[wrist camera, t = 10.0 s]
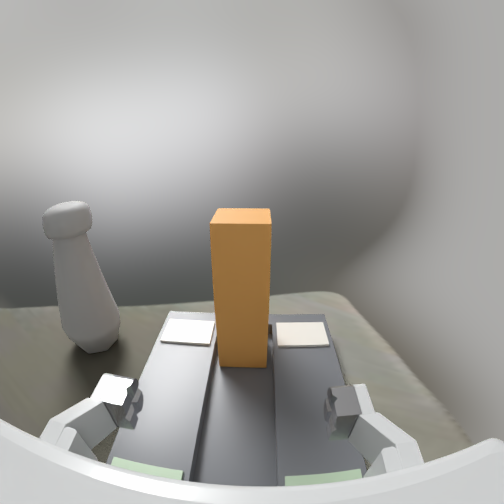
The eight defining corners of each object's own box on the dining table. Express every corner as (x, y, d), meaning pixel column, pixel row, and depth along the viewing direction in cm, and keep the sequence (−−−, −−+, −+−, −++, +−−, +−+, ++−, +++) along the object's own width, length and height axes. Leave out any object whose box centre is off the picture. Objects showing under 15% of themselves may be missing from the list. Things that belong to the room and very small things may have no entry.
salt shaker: (128, 354, 23) (95, 206, 18) (69, 364, 21) (23, 220, 16) (122, 318, 28) (99, 192, 23) (72, 327, 26) (41, 203, 21)
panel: (102, 528, 9) (85, 517, 8) (172, 328, 27) (169, 309, 26) (366, 544, 8) (381, 536, 7) (321, 331, 27) (324, 312, 26)
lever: (219, 366, 21) (209, 223, 17) (224, 337, 24) (217, 208, 20) (266, 367, 21) (271, 223, 17) (266, 338, 24) (269, 208, 20)
